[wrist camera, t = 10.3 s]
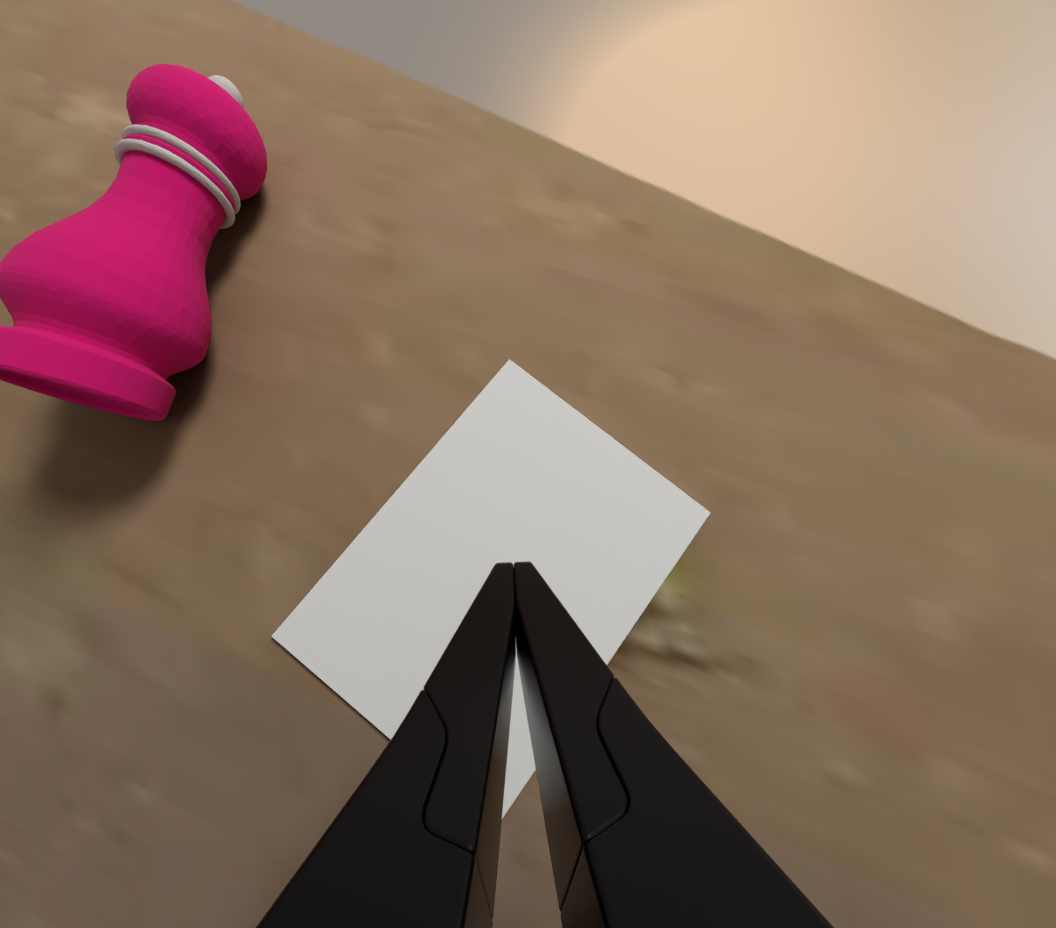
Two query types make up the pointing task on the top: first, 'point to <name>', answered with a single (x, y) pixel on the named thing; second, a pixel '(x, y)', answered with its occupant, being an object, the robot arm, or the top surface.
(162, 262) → the pepper mill
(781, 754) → the top surface
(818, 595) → the top surface
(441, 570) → the rubber mat
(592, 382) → the top surface
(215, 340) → the top surface
